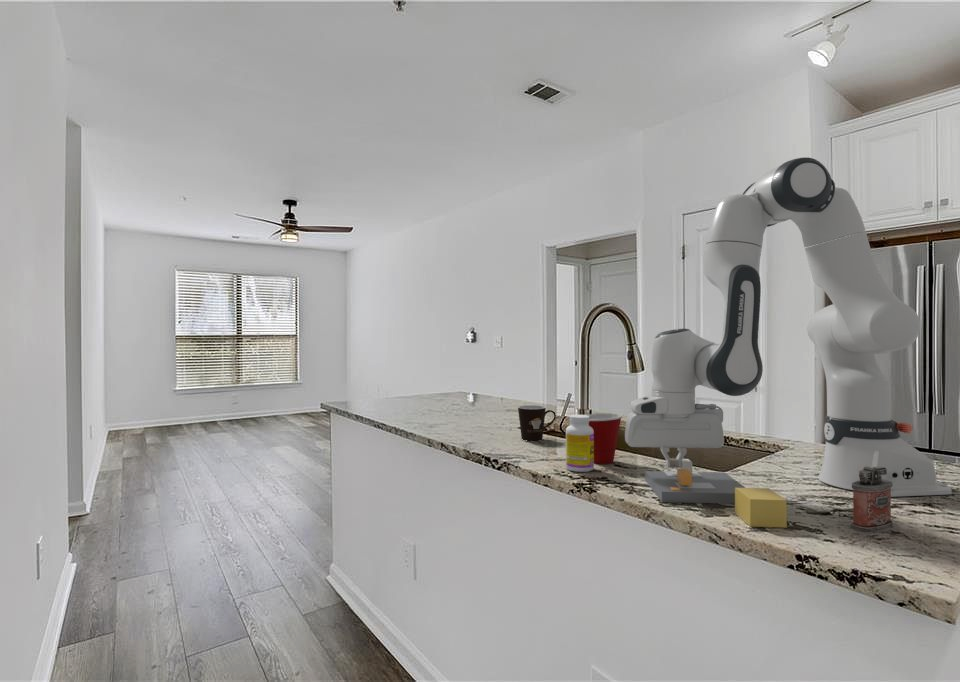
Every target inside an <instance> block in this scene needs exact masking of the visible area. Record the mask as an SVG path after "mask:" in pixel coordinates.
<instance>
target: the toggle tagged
mask: <svg viewBox="0 0 960 682" xmlns="http://www.w3.org/2000/svg"><path fill="white" fill-rule="evenodd" d="M676 472H677V481H678V482H679V483H680V484H681V485H692V472H693V471H692V472H690V471H689V470H688V469H679V468H676Z"/></svg>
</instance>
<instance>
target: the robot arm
mask: <svg viewBox="0 0 960 682" xmlns="http://www.w3.org/2000/svg"><path fill="white" fill-rule="evenodd" d="M789 220H790V221H792V222H793V223H794V224H795V225H796V226H797V228H798V229H799V231H800V234H801V237H802V238H801V239H802V243H803V248H804V251H805V254H806V257H807V261H808V266H809V269H810V273H811V277H812V280H813V282H814V283H815V284H816V286H817V287H819V288H821V289H822V291H824V293H825V294H826V295H827V296H828V298H829V300H830V301H831V302H832V304H830V305H827V306H825V307H823V308H821V309H818V310H817V311H815V312H814V313H813V314H811V316H810V317H809V318H808V322H807V324H806V330H807V335H808V338H809V339H810V340H811V342H812V343H813V344H814V345H815V347H816V348H817V351H818V354H819V359H820V360H821V363H822V368H823V371H824V376H825V381H826V382H825V383H826V415H824V430H823V431H824V434H823V435H824V441H825V446H824V447H825V448H824V455H823V460H822V463H821V467H820V471H819V474H818V476H817V479H818V480H819V481H820V482H823V483H824V484H827V485H829V486H833V487H836V488H841V489H845V490H850V491H853V489H852V483H854V482H856V481H860V477H859V471H861V470H863V468H864V467H871V468H873V467H878V466H883V467H885V468H887V475H882V476H881V477H882V479H885V480H889V481H892V487H891V498H892V497H916V496H919V497H920V496H943V495H946V496H947V495H952V494H953V489H952V488H951V487H950V486H948V485H947V484H945V483H943V482H941V481H938V480H937V473H936V469H935V466H934V463H933V461H932V460H931V459H930V458H929V457H928V456H926V455H925V454H924V453H922V452H921V451H919V450H918V449H916V448H915V447H914V446H913V445H912V444H911V445H910V444H909V443H908V442H906V441H905V440H904V439H903V438H901V433H904V434H911V433H912V432H913V430H914V428H913V426H912V424H910V423H907V422H903V421H902V422H899V423H898V422H897V421H895V420H893V419H892V416H891V415H892V385H891V382H890V380H889V378H888V377H887V376H886V375H885V374H884V373H883V371H882V370H881V369H880V366H879V364H878V361H877V358H876V355H882V354H888V353H893V352H897V351H901V350H904V349H907V348H909V347H910V346H911V345H912V344H914V343H915V342H916V340H917V339H918V338H919V335H920V331H921V321H920V317H919V315H918V313H917V312H916V311H915V310H914V309H913V307H911V306H910V305H908V304H906V303H905V302H904V301H902V300H901V299H900V298H898V297H897V295H895V294H894V292H893V291H892V290H891V288H890V287H889V285H888V284H887V283H886V281H885V280H884V278H883V276H882V275H881V274H882V273H881V272H880V270H879V268H878V266H877V263H876V262H875V259H874V255H873V252H872V249H871V246H870V241H869V238H868V235H867V232H866V228H865V225H864V224H865V223H864V221H863V219H862V216H861V214H860V210H859V209H858V206H857V205H856V202H855V201H854V199H853V197H852V195H851V194H850V192H849V191H848V190H846V189H844V188H842V187H836V183H835V181H834V180H833V179H832V176H831V174H830V173H829V171H828V169H827V168H826V166H825V165H824V164H823V163H822V162H820V161H819V160H817V159H815V158H812V157H798V158H794V159H791V160H790V159H789V160H787V161H786V162H784V163H782V164H781V165H779V166H777V167H775V168H773V169H770V171H767V172H766V173H765V174H763V175H762V176H761V177H760V178H759V179H757V180H756V181H754V182H753V183H751V184H750V185H749V186H748V187H747V188H746V189H745V190H744V191H743V192H742V194H740V193H739V194H733V195H728V196H726V197H725V198H724V197H723V199H722V200H720V201H719V202H718V203H717V205H716V206H715V209H714V212H713V214H712V217H711V220H710V224H709V227H708V231H707V235H706V240H705V245H704V251H703V260H702V261H703V273H704V276H705V277H706V279H707V280H708V281H709V282H710V283H711V284H712V285H714V286H715V287H716V288H718V290H719V291H720V292H721V294H722V297H723V300H724V311H723V314H724V315H723V325H722V326H723V327H722V337H721V341H720V342H719V344H718V343H715V342H713V341H710V340H708V339H705V338H703V337H701V336H699V335H697V334H696V333H694V332H693V331H692V330H691V329H690V328H676V329H670V330H665V331H662V332H659V333H658V334H656V335H655V337H654V339H653V342H652V347H651V348H652V349H651V373H652V377H653V381H652V386H651V394H649V395H646V396H643V397H640V398H636V399H633V400H632V401H630V404H629V406H630V409H631V412H630V413H628V414H627V417H626V420H625V428H624V441H625V443H626V444H627V445H628V446H629V447H630V448H659V449H660V452H661V454H662V455H663V457H664V459H665V466H666V468H667V469H679V468H681V460H682V459H685V456H687V453H688V450H687V449H688V448H690V449H692V448H694V449H695V448H696V449H719V448H722V447H723V445H725V437H724V436H725V435H724V429H723V424H722V423H723V422H724V410H723V409H722V408H721V407H720V406H719V405H717V404H716V403H708V404H707V403H706V404H705V403H696V387H698V386H701V387H704V388H705V387H706V388H708V389H711V390H715V391H717V392H720V393H723V394H724V395H726V396H731V397H741V396H743V395H747V394H748V393H750V392H752V391H753V390H754V389H756V387H758V385H759V384H760V381H761V379H762V376H763V371H764V370H763V369H764V368H763V360H762V357H761V354H760V349H759V328H760V323H759V322H760V311H761V310H760V309H761V292H762V291H761V289H762V288H761V287H762V286H761V277H760V266H761V265H760V264H761V263H760V262H761V255H762V249H763V241H764V234H765V231H766V229H767V227H772V226H774V225H775V226H776V225H777V224H778V223H779V224H780V223H784V222H786V221H789ZM670 448H677V451H678V453H677V456H676V457H675V458H674V457H673V458H671V457H670V456H669V454H668V453H669V452H670Z"/></svg>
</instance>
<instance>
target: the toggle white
mask: <svg viewBox="0 0 960 682" xmlns="http://www.w3.org/2000/svg"><path fill="white" fill-rule="evenodd" d="M678 469H688V470H689V471H690V472H693V462H692V461H691V460H690V459H689V458H683V459H682V460H681V468H678Z"/></svg>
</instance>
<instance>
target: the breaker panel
mask: <svg viewBox="0 0 960 682" xmlns="http://www.w3.org/2000/svg"><path fill="white" fill-rule="evenodd" d="M644 480H645V482H646V483H647V485H648V486H649V487H650V488H651V490H652V491H653V493H654V494H655V495H656V497H657V498H658V499H659V500H660V501H661V503H683V504H684V503H687V504H688V503H689V504H724V505H725V504H727V505H728V504H730V505H731V504H732V505H733V504H734V505H735V488H746V486H744V485H743V484H741V483H740V482H738V481H737V480H735V479H734V478H733V477H731V476H730V475H729V474H727V473H726V472H710V471H709V472H707V471H706V472H705V471H692V485H681V484H680V483H679V482H678V481H677V471H675V470H674V471H671V470H670V471H665V470H663V471H660V470H659V471H653V470H652V471H651V470H650V471H649V470H645V471H644Z"/></svg>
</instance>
